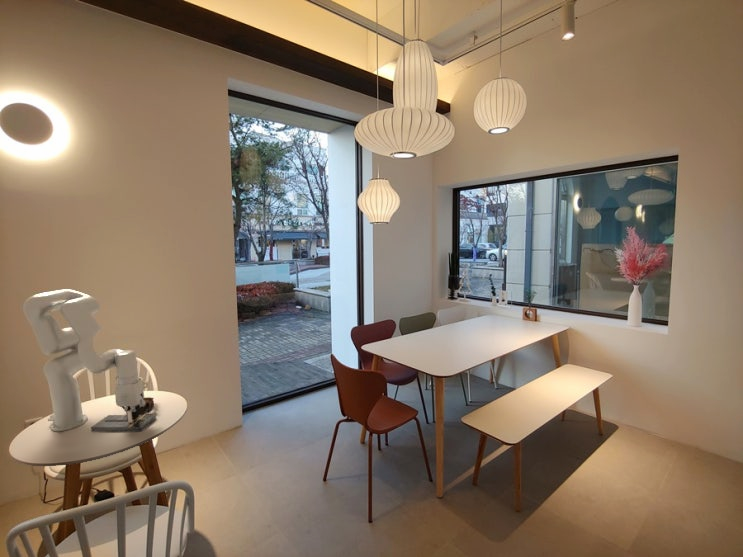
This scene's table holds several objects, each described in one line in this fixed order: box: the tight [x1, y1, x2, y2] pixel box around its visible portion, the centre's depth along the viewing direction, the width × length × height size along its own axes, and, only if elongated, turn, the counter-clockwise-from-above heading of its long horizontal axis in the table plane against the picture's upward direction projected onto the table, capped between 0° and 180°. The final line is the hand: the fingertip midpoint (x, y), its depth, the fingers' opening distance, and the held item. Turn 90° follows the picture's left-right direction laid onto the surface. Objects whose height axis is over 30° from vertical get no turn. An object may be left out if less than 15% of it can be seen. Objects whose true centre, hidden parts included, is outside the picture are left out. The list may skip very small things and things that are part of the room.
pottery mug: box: [138, 397, 155, 415], centre depth 168 cm, size 12×10×8 cm
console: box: [90, 414, 157, 432], centre depth 157 cm, size 22×10×2 cm, turn 88°
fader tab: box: [126, 407, 136, 422], centre depth 156 cm, size 2×4×5 cm, turn 178°
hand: (133, 418), depth 156 cm, fingers closed on fader tab
